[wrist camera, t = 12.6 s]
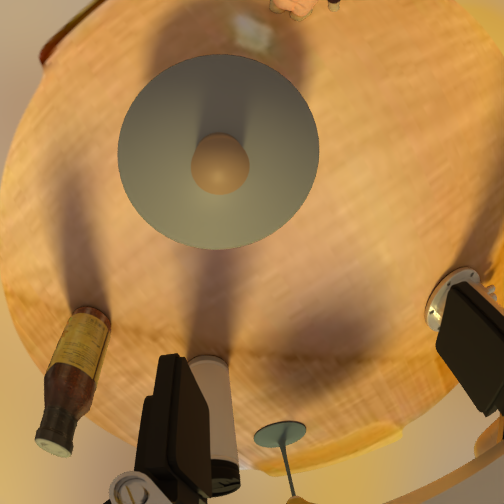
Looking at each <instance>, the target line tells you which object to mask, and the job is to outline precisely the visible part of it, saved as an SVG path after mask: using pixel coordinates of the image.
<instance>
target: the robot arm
mask: <svg viewBox="0 0 504 504" xmlns="http://www.w3.org/2000/svg"><path fill="white" fill-rule="evenodd" d="M494 291H495V286H494V285H490V286H488V287H487V288H485V287H484V286H483V285H482V284H481V283H480V277H479V275H478V273H477V272H476V271H475V270H473V269H472V268H469V267H462V268H459V269H457V270H455V271H453V272H451V273H450V274H449V275H447V276H446V277H445V278H444V279H443V280H442V281H441V282H440V283H439V285H438V286H437V287H436V288H435V290H434V291H433V293H432V295H431V297H430V298H429V301H428V303H427V306H426V310H425V320H426V323H427V325H428V326H429V327H430V328H431V329H432V330H434V331H437V332H438V331H439V333H438V336H437V340H436V350H437V352H438V353H439V355H440V356H441V357H442V359H443V360H444V361H445V363H446V364H447V366H448V367H449V368H450V370H451V371H452V373H453V374H454V375H455V377H456V378H457V380H458V381H459V383H460V384H461V385H462V387H463V388H464V390H465V391H466V393H467V394H468V396H469V397H470V399H471V400H472V402H473V403H474V405H475V406H476V408H477V409H478V410H479V411H480V412H483V413H484V415H485V417H487V416H489V415H491V414H492V413H494V412H495V411H496V410H497V409H498V410H499V411H500V417H498V418H497V420H495V421H494V422H493V423H492V424H491V425H490V426H489V427H488V428H487V429H486V430H485V431H484V432H483V433H482V434H481V435H480V436H479V438H478V439H477V441H476V443H475V446H474V455H475V459H473V460H472V461H470V462H468V463H467V464H465V465H463V466H462V467H460V468H458V469H456V470H455V471H453V472H451V473H449V474H447V475H445V476H443V477H442V478H440V479H438V480H436V481H434V482H432V483H430V484H428V485H426V486H424V487H421V488H419V489H417V490H415V491H413V492H410V493H408V494H406V495H404V496H401V497H399V498H396V499H394V500H391V501H389V502H386V503H384V504H504V309H503V308H502V307H501V306H500V305H499V304H498V303H497V302H496V300H497V297H496V295H495V293H493V292H494ZM490 293H491V294H490ZM211 497H212V477H211V452H210V414H209V407H208V404H207V402H206V400H205V398H204V396H203V394H202V392H201V390H200V388H199V386H198V384H197V382H196V379H195V377H194V375H193V373H192V371H191V369H190V367H189V365H188V362H187V360H186V358H185V357H180V356H179V354H177V353H175V354H168V355H161V356H160V357H159V361H158V367H157V373H156V380H155V386H154V392H153V395H151V396H147V397H146V398H145V400H144V404H143V410H142V416H141V423H140V430H139V436H138V444H137V451H136V459H135V467H134V471H129V472H124V473H122V474H120V475H118V476H117V477H116V478H115V479H114V480H113V482H112V483H111V485H110V489H109V498H110V499H109V500H108V501H106V502H105V503H103V504H207V498H211Z"/></svg>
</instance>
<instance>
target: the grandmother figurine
mask: <svg viewBox="0 0 504 504" xmlns="http://www.w3.org/2000/svg"><path fill="white" fill-rule="evenodd" d="M317 1H318V0H270V10H271V11H272V12H274V13H278V14H280V13H283V12H284V11H285V10H288V11H290V17H291V18H292V19H294V20H295V21H302V20H304V19H305V18H306V17H308V16H309V15H310V14H311V13H312V8H313V7H314V5H315V4H316V3H317ZM339 4H340V0H328V8H329V10H330V11H332V12H336V11H338V10H339Z"/></svg>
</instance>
